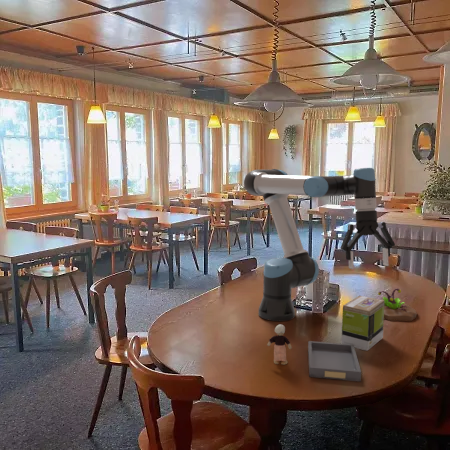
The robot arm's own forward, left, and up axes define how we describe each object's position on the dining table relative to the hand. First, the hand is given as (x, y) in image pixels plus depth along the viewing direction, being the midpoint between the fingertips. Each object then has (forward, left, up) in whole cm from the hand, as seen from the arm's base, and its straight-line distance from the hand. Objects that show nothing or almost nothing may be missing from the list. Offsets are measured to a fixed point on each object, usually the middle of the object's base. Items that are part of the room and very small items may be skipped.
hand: (368, 267), depth 166 cm
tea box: (-2, -8, -26) cm, 27 cm away
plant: (+15, +26, -26) cm, 40 cm away
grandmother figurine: (-31, -31, -26) cm, 51 cm away
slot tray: (-14, -29, -26) cm, 41 cm away
